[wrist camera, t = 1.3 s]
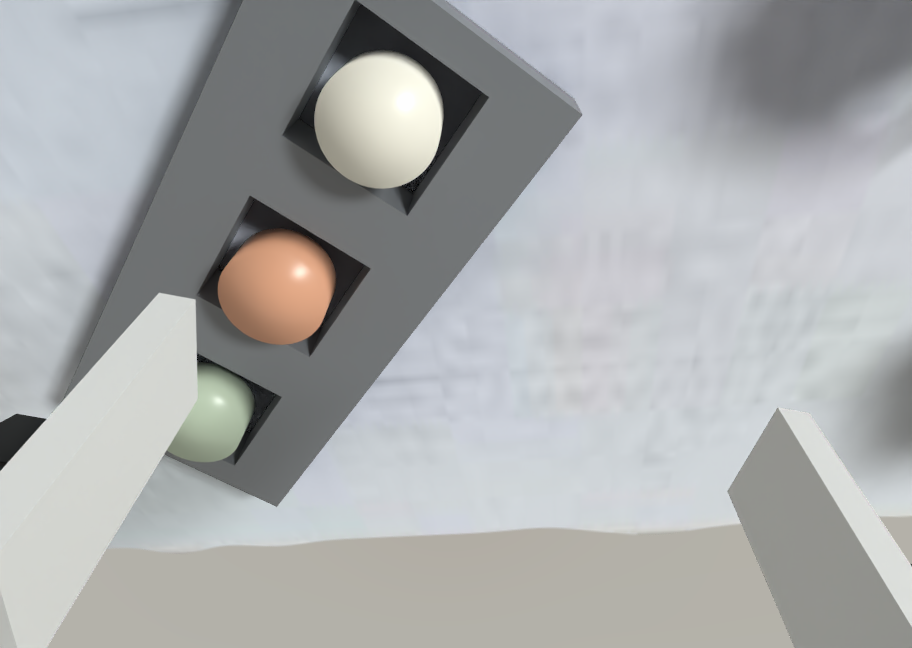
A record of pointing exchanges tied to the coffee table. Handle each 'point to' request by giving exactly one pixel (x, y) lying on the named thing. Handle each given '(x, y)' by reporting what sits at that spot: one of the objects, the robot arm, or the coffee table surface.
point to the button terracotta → (277, 286)
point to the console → (327, 214)
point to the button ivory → (380, 119)
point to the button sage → (214, 416)
